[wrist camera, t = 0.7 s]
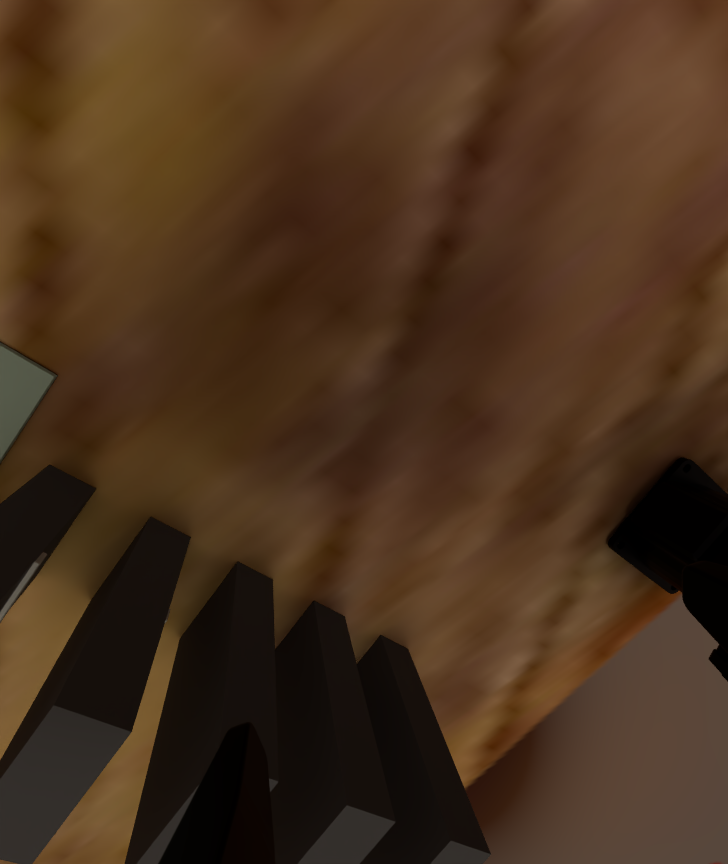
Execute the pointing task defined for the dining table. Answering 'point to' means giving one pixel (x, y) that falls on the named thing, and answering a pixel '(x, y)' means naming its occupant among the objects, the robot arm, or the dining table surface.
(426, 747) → the domino
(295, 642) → the domino
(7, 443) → the mat
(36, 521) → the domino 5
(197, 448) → the dining table surface
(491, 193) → the dining table surface
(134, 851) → the domino
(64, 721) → the domino
